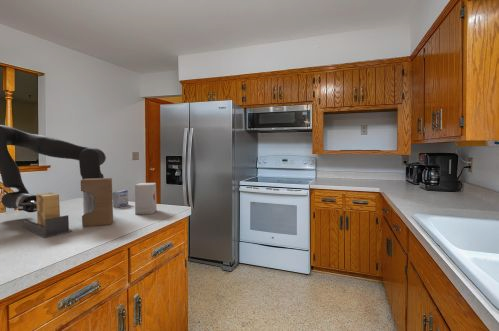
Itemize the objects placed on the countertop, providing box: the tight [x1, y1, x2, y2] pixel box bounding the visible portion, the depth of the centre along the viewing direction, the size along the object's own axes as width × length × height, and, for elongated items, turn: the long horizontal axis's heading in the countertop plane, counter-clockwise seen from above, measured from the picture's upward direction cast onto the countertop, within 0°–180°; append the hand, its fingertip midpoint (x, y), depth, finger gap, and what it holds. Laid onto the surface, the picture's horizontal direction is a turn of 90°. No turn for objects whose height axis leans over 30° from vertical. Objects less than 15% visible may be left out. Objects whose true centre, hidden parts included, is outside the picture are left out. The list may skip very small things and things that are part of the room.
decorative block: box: [80, 177, 114, 228], centre depth 118 cm, size 11×6×20 cm, turn 104°
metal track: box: [21, 215, 72, 239], centre depth 111 cm, size 25×9×7 cm, turn 56°
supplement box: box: [134, 182, 157, 215], centre depth 141 cm, size 9×9×15 cm
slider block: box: [35, 192, 61, 227], centre depth 109 cm, size 8×5×14 cm, turn 56°
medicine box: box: [112, 189, 129, 208], centre depth 157 cm, size 8×4×9 cm, turn 168°
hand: (44, 207), depth 111 cm, fingers closed
